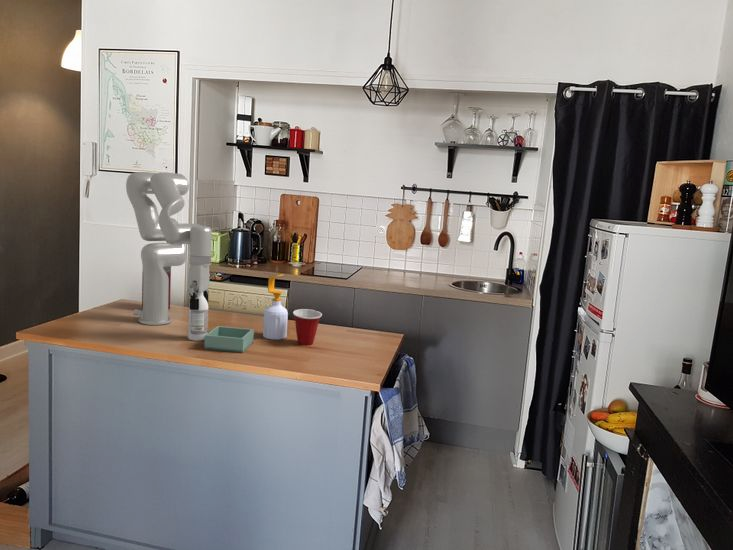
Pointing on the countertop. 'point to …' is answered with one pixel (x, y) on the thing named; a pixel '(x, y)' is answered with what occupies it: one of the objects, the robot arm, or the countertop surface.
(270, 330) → the soap bottle
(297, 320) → the plastic cup
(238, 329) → the tub
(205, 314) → the bath foam
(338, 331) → the countertop surface
